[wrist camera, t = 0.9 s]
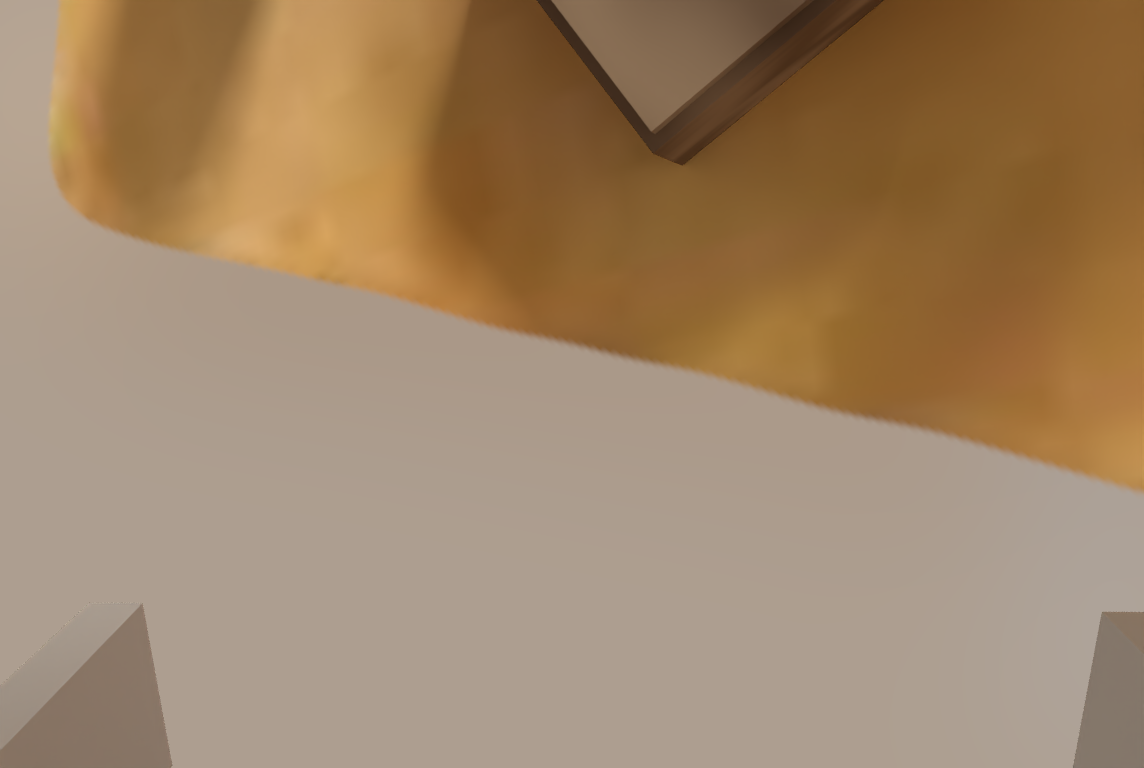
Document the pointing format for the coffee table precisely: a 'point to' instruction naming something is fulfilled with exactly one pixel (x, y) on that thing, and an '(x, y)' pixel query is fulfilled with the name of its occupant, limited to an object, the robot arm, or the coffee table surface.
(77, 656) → the robot arm
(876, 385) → the coffee table surface
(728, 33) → the block
